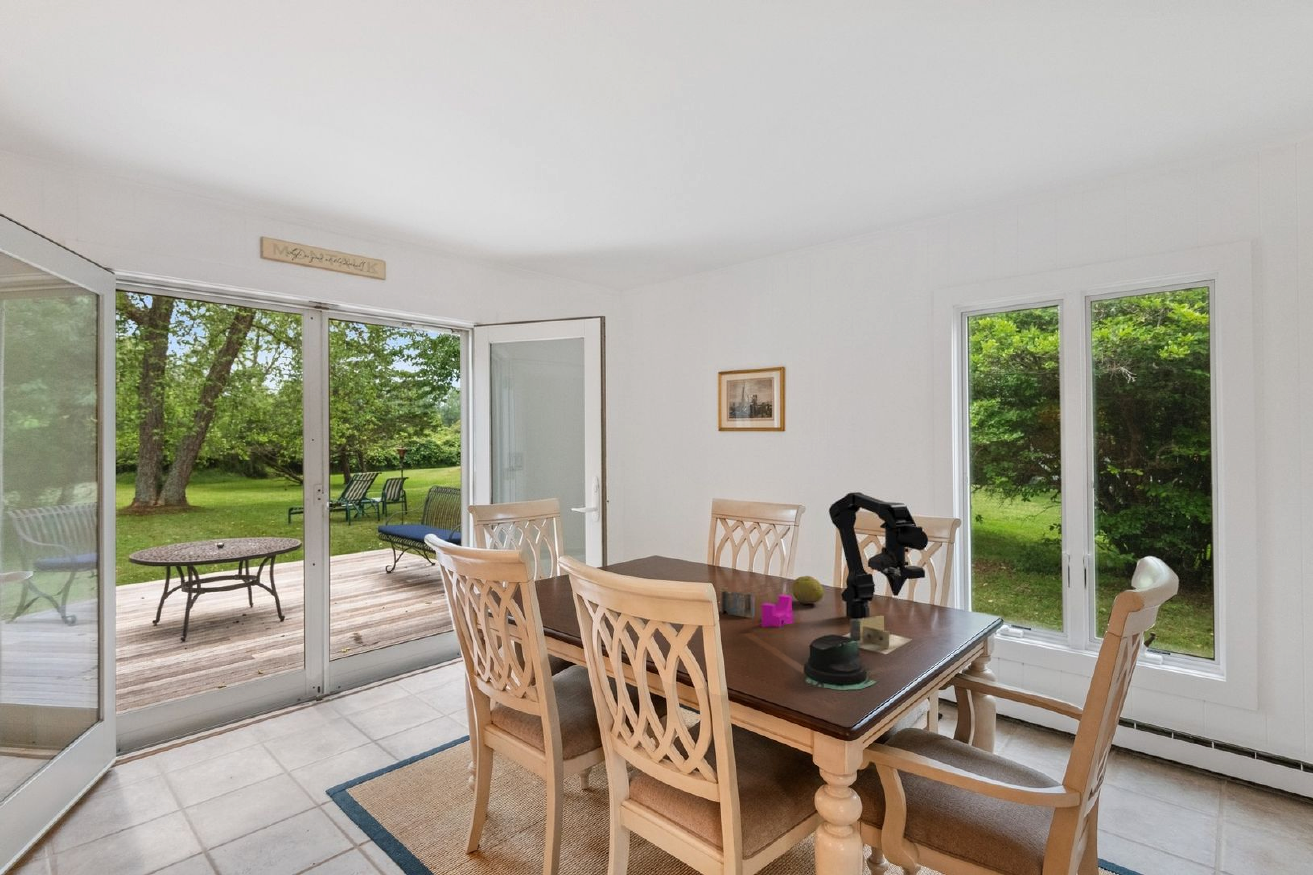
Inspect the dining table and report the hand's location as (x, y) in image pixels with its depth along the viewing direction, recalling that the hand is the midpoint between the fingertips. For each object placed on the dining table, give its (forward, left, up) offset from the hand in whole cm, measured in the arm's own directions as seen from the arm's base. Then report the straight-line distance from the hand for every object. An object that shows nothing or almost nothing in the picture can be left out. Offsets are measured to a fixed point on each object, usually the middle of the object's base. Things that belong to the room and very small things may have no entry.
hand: (895, 595), depth 186 cm
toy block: (-32, -14, -13) cm, 37 cm away
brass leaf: (-3, -9, -11) cm, 14 cm away
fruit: (-38, +12, -13) cm, 42 cm away
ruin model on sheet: (-48, -16, -13) cm, 53 cm away
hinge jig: (-1, -12, -12) cm, 17 cm away
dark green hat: (+2, -40, -13) cm, 42 cm away
